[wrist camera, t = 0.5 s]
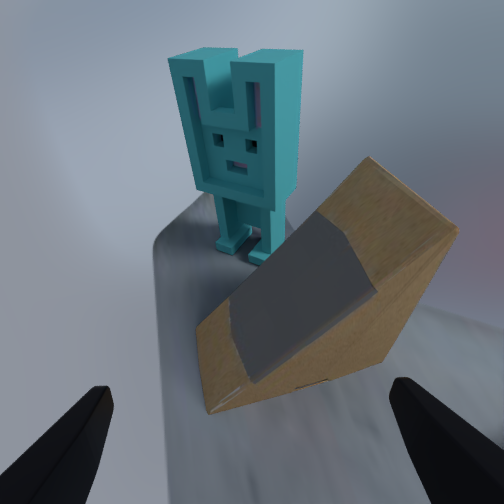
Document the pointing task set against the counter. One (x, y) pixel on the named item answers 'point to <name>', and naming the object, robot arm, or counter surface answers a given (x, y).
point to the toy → (242, 137)
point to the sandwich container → (325, 293)
